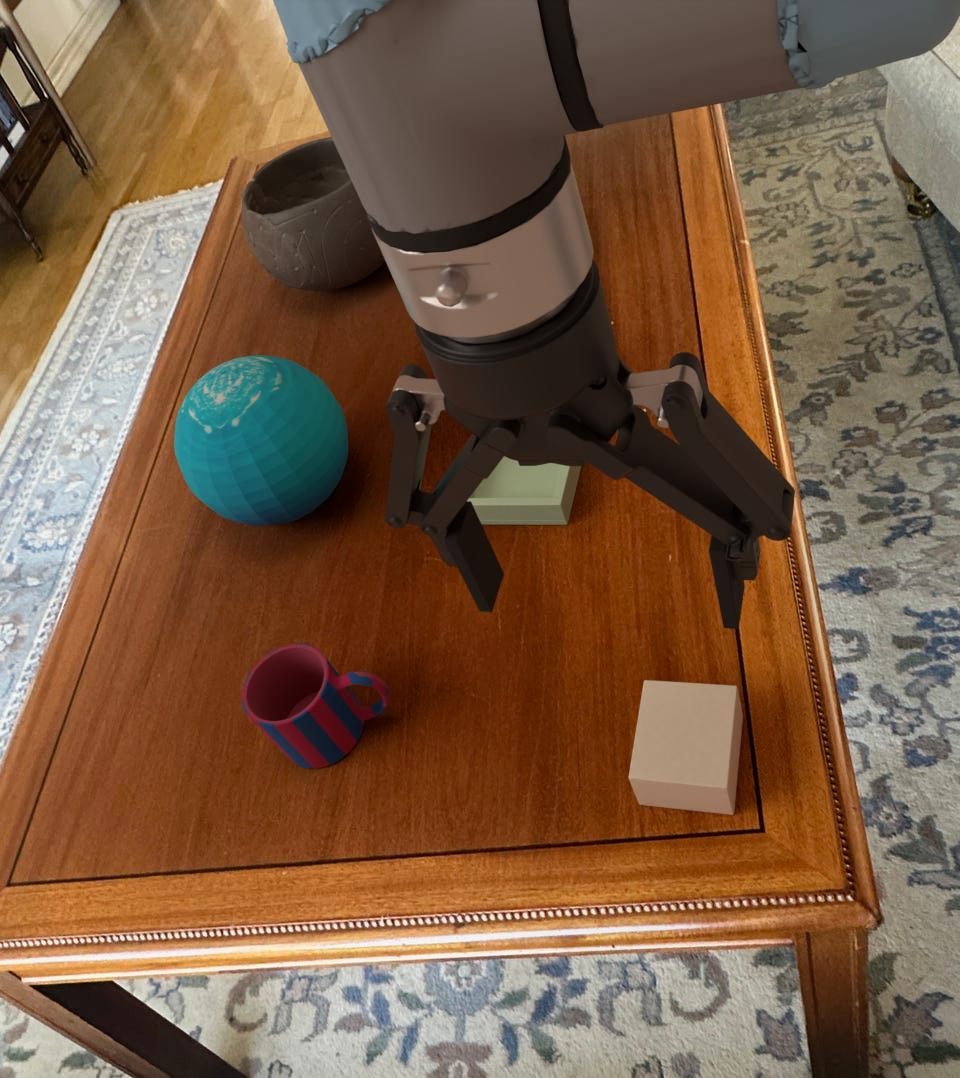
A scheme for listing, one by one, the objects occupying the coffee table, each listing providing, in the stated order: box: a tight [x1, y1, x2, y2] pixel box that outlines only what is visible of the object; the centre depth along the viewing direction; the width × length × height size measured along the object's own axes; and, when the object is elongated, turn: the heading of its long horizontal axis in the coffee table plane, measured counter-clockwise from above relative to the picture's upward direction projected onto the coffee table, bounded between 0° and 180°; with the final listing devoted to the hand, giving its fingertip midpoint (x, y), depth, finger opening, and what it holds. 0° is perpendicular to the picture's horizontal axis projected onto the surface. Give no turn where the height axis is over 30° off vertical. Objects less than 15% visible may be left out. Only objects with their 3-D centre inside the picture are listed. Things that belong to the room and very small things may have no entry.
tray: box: [467, 456, 582, 526], centre depth 86 cm, size 19×10×3 cm, turn 166°
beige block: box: [628, 679, 744, 816], centre depth 63 cm, size 7×6×4 cm
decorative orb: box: [173, 354, 349, 527], centre depth 86 cm, size 15×15×15 cm
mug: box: [241, 642, 391, 770], centre depth 71 cm, size 7×10×7 cm
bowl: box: [241, 136, 386, 292], centre depth 110 cm, size 18×18×13 cm
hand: (607, 599), depth 54 cm, fingers open, 13 cm apart
